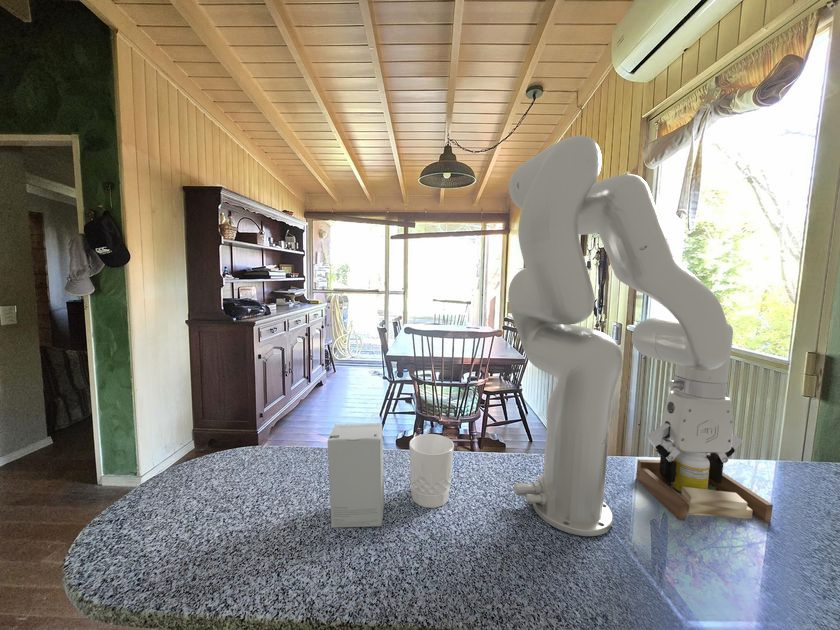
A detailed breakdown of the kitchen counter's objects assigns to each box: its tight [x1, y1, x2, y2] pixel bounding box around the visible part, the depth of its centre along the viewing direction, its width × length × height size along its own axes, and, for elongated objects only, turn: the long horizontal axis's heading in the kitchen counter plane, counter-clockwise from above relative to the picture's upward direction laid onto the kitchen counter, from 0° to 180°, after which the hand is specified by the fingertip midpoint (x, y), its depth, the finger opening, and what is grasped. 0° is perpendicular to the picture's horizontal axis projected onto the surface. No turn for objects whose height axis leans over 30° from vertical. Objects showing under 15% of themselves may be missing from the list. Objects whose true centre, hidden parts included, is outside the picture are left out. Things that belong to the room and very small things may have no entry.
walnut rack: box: [635, 459, 774, 524], centre depth 64 cm, size 15×12×4 cm
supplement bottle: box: [670, 451, 710, 495], centre depth 66 cm, size 5×5×10 cm
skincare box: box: [327, 422, 385, 529], centre depth 57 cm, size 8×6×15 cm
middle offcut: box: [678, 494, 753, 517], centre depth 61 cm, size 10×3×1 cm, turn 85°
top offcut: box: [681, 487, 747, 510], centre depth 61 cm, size 8×3×1 cm, turn 80°
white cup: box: [408, 433, 455, 509], centre depth 64 cm, size 8×8×10 cm
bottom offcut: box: [686, 511, 753, 519], centre depth 61 cm, size 11×3×1 cm, turn 87°
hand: (689, 478), depth 67 cm, fingers open, 7 cm apart
